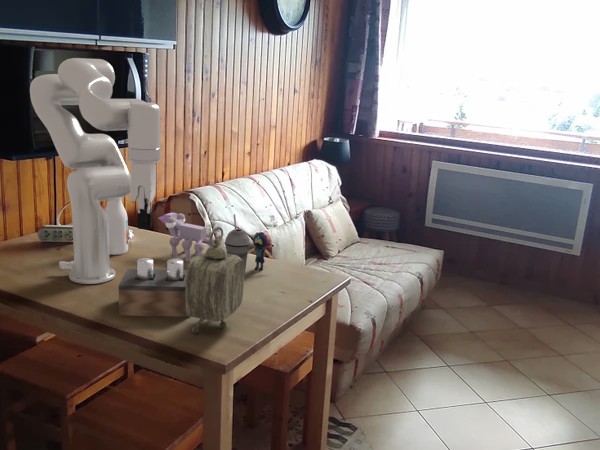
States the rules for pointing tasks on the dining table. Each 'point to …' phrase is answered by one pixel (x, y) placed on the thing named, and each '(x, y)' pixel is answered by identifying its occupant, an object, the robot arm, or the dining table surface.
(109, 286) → the dining table surface
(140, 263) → the left peg
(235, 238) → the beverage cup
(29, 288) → the dining table surface
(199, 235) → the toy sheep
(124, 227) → the milk bottle
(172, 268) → the right peg
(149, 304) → the peg block
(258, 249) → the character figure
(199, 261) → the tabletop clock
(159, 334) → the dining table surface
